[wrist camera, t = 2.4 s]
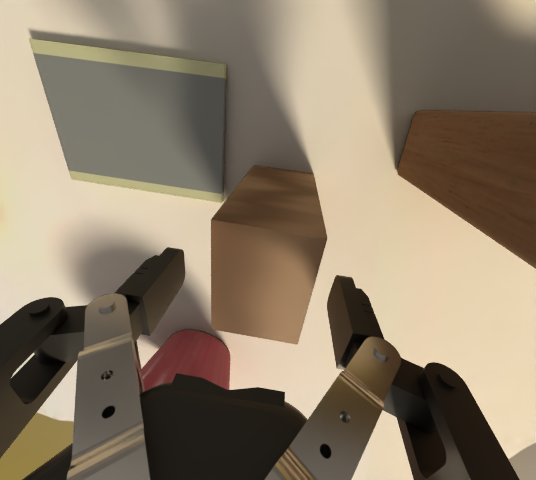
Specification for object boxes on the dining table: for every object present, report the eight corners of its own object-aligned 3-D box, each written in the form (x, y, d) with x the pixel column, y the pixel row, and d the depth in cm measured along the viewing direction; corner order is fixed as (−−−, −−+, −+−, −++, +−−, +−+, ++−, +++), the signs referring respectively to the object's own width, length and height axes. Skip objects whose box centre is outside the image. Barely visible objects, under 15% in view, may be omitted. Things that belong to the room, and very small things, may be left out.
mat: (226, 65, 16) (224, 64, 16) (223, 200, 21) (221, 202, 21) (37, 40, 17) (28, 38, 17) (76, 177, 22) (71, 179, 22)
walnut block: (313, 173, 19) (327, 238, 10) (298, 245, 23) (297, 344, 13) (253, 165, 20) (211, 219, 10) (247, 237, 23) (211, 329, 14)
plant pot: (179, 384, 38) (130, 498, 27) (129, 324, 32) (39, 439, 21) (263, 377, 34) (245, 506, 23) (224, 307, 28) (175, 437, 17)
